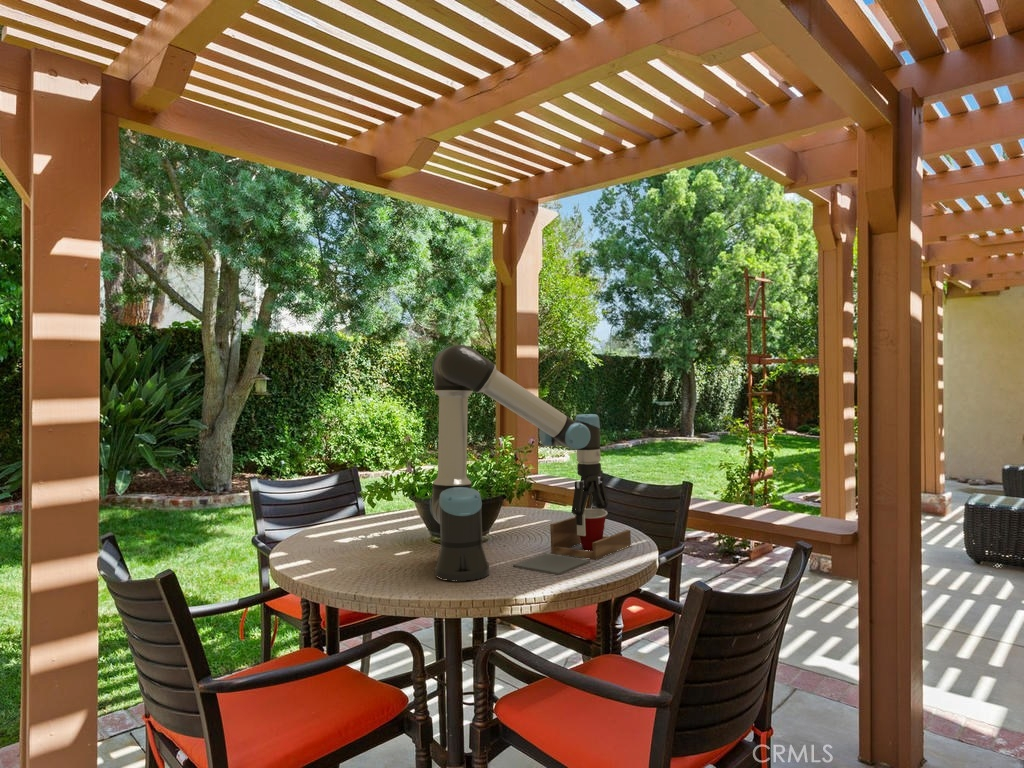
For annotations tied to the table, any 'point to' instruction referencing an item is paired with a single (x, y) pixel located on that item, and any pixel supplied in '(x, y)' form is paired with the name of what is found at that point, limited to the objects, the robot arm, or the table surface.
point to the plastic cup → (593, 527)
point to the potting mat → (551, 563)
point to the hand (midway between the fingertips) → (591, 532)
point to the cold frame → (567, 537)
